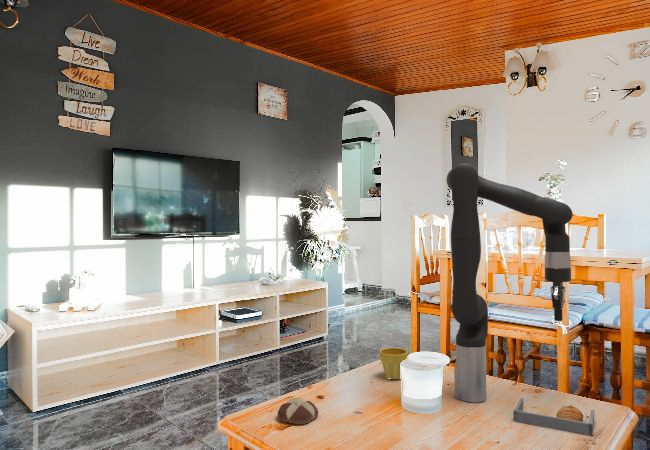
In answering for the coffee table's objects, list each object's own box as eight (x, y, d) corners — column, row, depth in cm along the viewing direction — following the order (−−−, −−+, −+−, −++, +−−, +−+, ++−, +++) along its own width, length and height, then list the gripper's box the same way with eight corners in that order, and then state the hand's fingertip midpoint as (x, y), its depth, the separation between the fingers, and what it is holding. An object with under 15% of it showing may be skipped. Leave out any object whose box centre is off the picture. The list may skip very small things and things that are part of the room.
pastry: (582, 432, 131) (582, 418, 131) (555, 427, 134) (554, 413, 134) (583, 419, 139) (583, 406, 139) (557, 415, 142) (557, 402, 142)
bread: (294, 408, 151) (294, 392, 151) (324, 416, 144) (323, 399, 144) (270, 420, 142) (269, 403, 142) (299, 429, 135) (299, 412, 135)
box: (513, 421, 138) (513, 410, 138) (520, 408, 148) (520, 398, 148) (592, 436, 128) (592, 424, 128) (594, 420, 137) (594, 410, 137)
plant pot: (374, 378, 178) (374, 351, 178) (389, 371, 186) (389, 345, 186) (398, 384, 171) (398, 356, 171) (413, 376, 179) (413, 350, 179)
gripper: (547, 263, 162) (548, 316, 162) (541, 267, 150) (542, 323, 150) (572, 264, 158) (573, 318, 158) (568, 268, 146) (569, 325, 146)
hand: (558, 320), depth 154 cm, fingers closed
